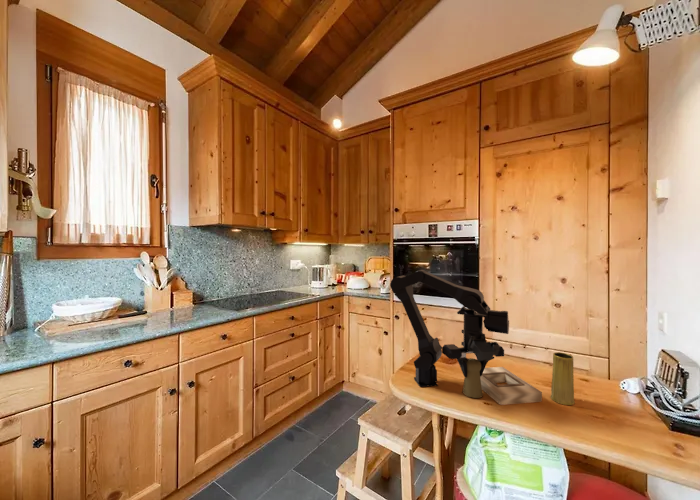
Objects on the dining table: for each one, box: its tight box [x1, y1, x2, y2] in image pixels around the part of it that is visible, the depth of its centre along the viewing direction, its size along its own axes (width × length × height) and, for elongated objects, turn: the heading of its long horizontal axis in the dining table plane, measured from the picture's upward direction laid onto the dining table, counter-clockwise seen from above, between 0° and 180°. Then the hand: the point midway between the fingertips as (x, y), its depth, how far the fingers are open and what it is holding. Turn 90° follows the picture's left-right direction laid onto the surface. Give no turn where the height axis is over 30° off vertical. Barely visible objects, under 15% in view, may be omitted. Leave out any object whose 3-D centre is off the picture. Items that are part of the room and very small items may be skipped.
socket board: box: [480, 366, 543, 406], centre depth 100 cm, size 14×19×3 cm
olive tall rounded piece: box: [462, 357, 483, 399], centre depth 96 cm, size 6×6×11 cm
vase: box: [550, 351, 576, 406], centre depth 93 cm, size 6×6×14 cm
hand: (472, 376), depth 96 cm, fingers closed on olive tall rounded piece, 5 cm apart
